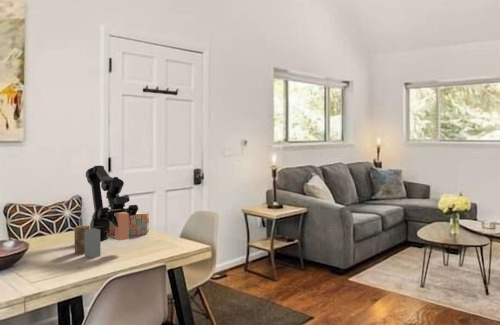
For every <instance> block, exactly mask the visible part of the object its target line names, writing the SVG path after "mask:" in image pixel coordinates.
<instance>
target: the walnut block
mask: <svg viewBox="0 0 500 325" xmlns="http://www.w3.org/2000/svg"><path fill="white" fill-rule="evenodd" d="M87 229H90V225H78V226H75V227H74V254H75V255H76V254H77V255H78V254H81V255H85V230H87Z"/></svg>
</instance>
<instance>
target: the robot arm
mask: <svg viewBox="0 0 500 325" xmlns="http://www.w3.org/2000/svg"><path fill="white" fill-rule="evenodd" d="M85 178H86V181H87V182H88V184H89V186H90V188H91V194H92V200H93V201H92V202H93V210H94V212H93V213H94V214H92V215H91V221H90V223H89V226H90V229H92V228H95V229H100V242H102V241H106V240H108V239H109V237H107V236H108V235H107V234H108V233H107V231H106V228H108V227H109V221H110V222H112V223H113V224H114V225H115V226H116V227H118V223H117V221H116V218H115V213H118V212H127V213H129V217H130V216H133V215H136V213H137V212H139V207H138V206H139V205H138V204H130V205H128V208H127V207H126V208H124V207H125V206H126V204H127V203H129V201H130V196H129V194H125V195H124V196H123V195H121V196H120V194H121V192H122V189H123V187H124V185H125V182H124V180H122V179H121V178H119V177H118V176H113V177H112V176H110V175H109V173H108V172H107V170H106V169H105V166H104V165H94V166H93V167H90V168H88V169H87V170H86V171H85ZM101 189H102V190H101ZM102 191H104V192H106V197H105V198H106V199H107V201H108V204H109V205H108V207H104V204H103V196H102ZM94 226H95V227H94Z"/></svg>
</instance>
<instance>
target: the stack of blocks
mask: <svg viewBox="0 0 500 325" xmlns="http://www.w3.org/2000/svg"><path fill="white" fill-rule="evenodd" d="M149 216H150V213H149V212H148V211H147V212H146V211H145V212H144V211H137V213H136V215H133V216H130V217H129V236H130V235H133V236H135V235H136V236H142V235H141V234H147V233H148V232H149V231H150V230H149V228H150V227H149V226H150V225H149V223H150V222H149V221H150V218H149ZM109 224H110V233H109V236H111V235H112V236H113V235H114V236H115V225H114V224H113V223H112V222H110V221H109ZM149 233H150V232H149ZM149 233H148V234H149ZM148 234H147V235H148Z"/></svg>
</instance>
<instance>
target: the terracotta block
mask: <svg viewBox="0 0 500 325" xmlns="http://www.w3.org/2000/svg"><path fill="white" fill-rule="evenodd" d="M114 215H115V218H116V221H117V223H118V227H116V226H115V235H114V239H115V240H117V241H124V240H129V239H130V235H129V213H127V212H118V213H115V214H114Z"/></svg>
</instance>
